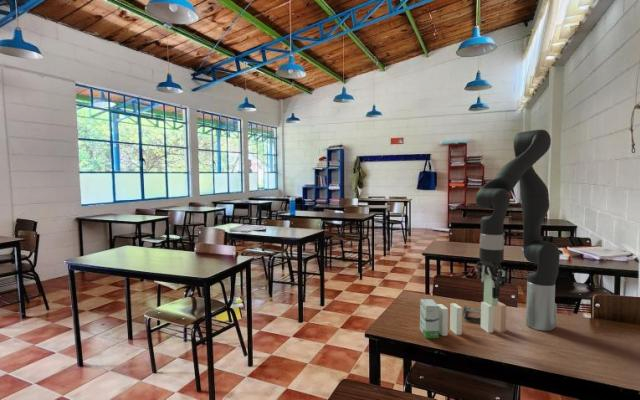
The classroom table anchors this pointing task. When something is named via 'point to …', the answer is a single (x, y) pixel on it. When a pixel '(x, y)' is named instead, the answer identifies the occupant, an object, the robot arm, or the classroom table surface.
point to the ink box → (429, 318)
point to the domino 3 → (489, 291)
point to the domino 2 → (456, 318)
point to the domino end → (500, 317)
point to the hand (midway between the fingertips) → (490, 295)
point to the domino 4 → (487, 317)
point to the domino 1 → (443, 320)
